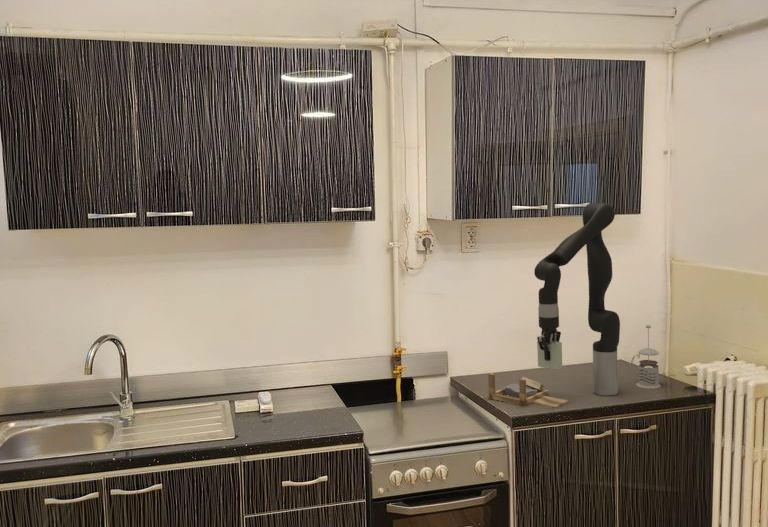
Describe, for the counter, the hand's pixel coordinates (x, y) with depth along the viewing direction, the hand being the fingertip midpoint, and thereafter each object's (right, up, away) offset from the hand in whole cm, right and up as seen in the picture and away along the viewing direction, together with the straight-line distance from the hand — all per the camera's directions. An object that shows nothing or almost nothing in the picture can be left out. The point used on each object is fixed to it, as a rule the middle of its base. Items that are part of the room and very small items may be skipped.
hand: (549, 359), depth 267 cm
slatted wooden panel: (+1, -17, +1) cm, 17 cm away
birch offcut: (-4, -13, +15) cm, 20 cm away
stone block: (-8, -17, +12) cm, 22 cm away
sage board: (0, -3, 0) cm, 3 cm away
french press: (+44, -13, +20) cm, 51 cm away
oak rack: (-10, -16, +10) cm, 21 cm away
